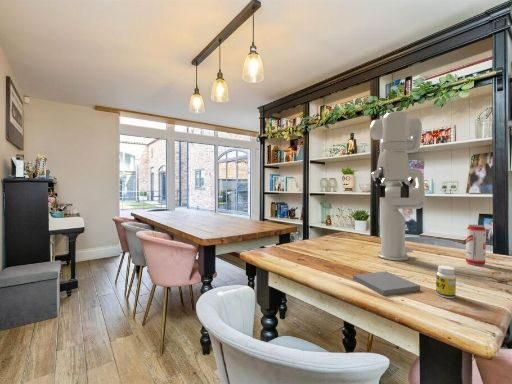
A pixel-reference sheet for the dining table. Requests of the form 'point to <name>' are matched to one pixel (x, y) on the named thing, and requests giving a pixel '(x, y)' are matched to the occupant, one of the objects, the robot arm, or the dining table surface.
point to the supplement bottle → (446, 282)
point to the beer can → (476, 245)
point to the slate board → (386, 283)
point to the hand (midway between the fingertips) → (393, 197)
